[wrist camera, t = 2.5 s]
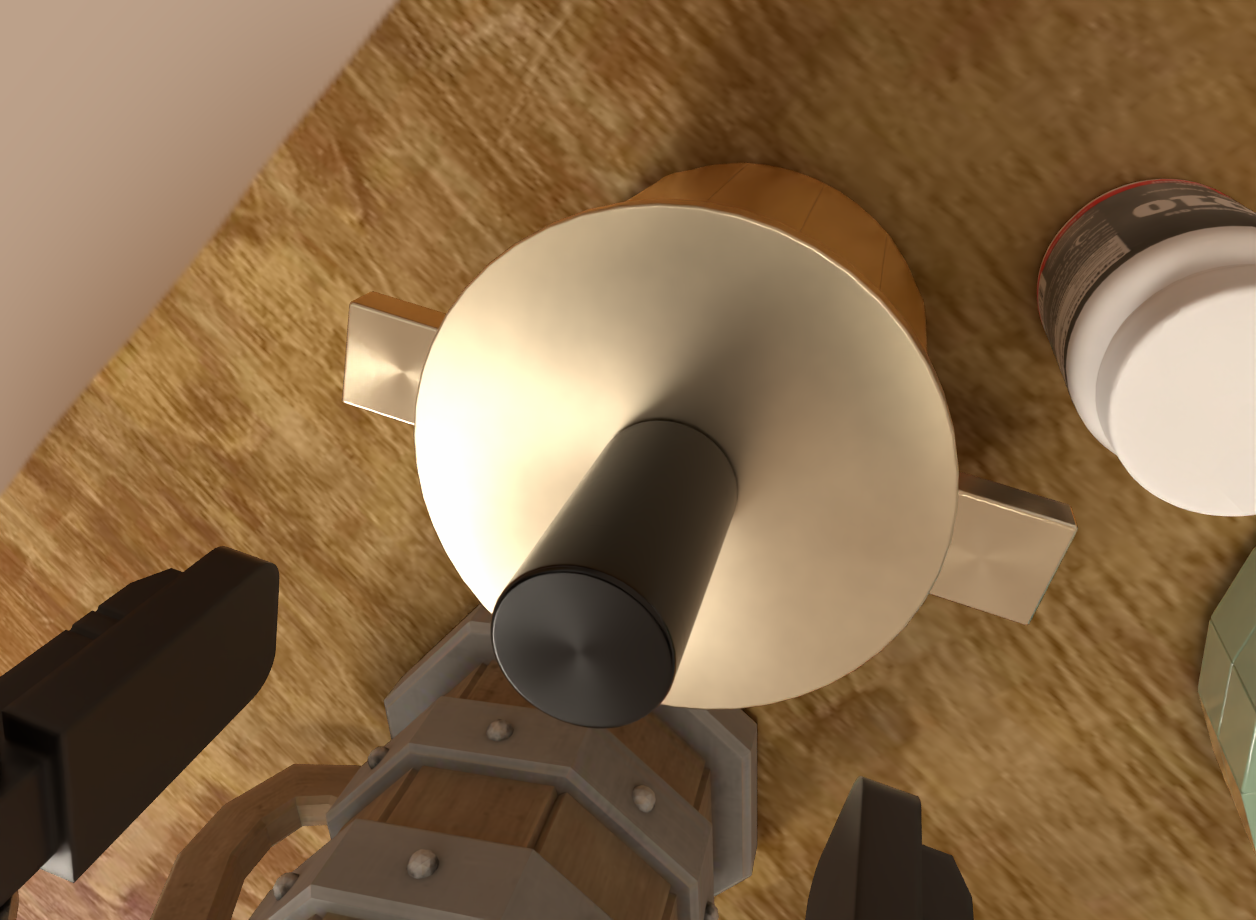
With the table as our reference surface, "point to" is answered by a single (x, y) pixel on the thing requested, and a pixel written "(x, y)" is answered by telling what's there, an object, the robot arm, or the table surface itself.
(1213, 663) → the bowl
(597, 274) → the pot lid
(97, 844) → the robot arm
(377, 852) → the tankard
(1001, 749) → the table surface
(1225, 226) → the pill bottle
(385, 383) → the pot
